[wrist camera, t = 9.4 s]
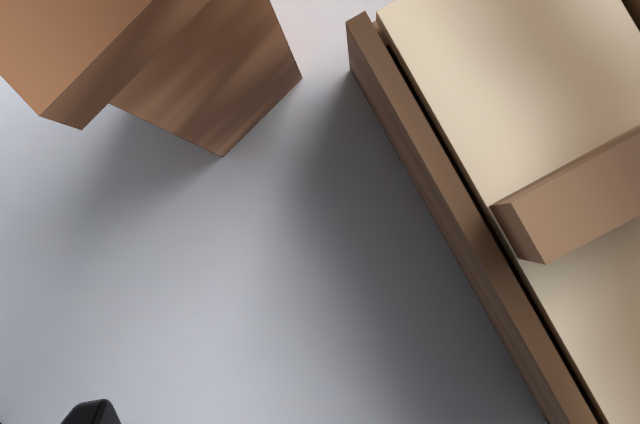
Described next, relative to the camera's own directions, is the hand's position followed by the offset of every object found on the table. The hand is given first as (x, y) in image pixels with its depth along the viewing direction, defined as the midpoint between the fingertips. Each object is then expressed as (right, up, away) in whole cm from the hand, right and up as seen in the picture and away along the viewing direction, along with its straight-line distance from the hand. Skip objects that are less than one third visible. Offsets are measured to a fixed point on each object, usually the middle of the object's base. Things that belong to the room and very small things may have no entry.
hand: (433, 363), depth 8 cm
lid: (+6, +3, +8) cm, 10 cm away
